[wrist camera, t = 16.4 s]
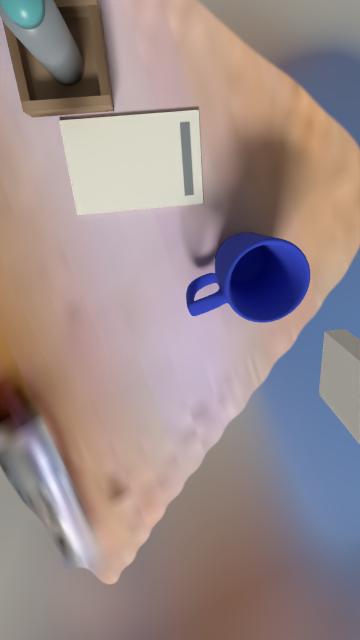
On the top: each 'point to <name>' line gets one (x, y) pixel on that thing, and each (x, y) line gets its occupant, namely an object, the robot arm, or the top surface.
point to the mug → (254, 278)
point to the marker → (45, 37)
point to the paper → (134, 161)
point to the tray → (43, 90)
